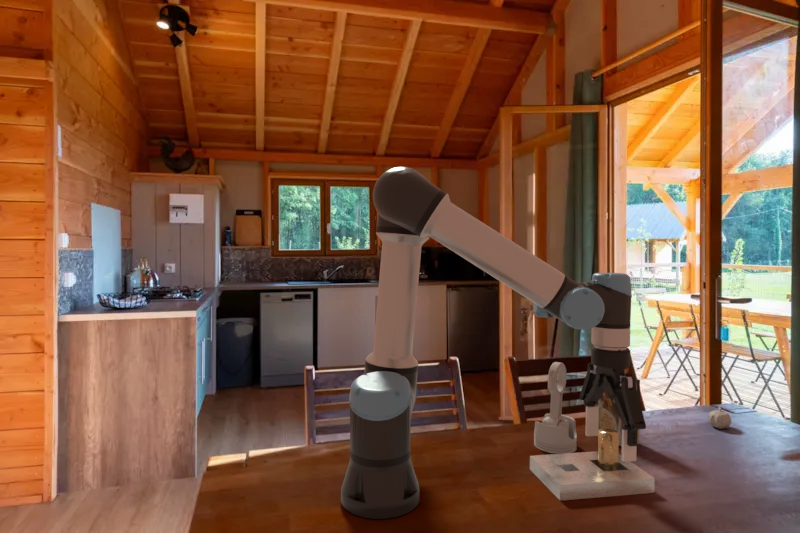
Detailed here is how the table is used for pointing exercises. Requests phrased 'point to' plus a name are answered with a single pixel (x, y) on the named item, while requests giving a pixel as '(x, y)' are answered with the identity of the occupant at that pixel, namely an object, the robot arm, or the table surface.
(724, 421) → the garlic
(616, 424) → the coffee box
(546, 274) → the robot arm
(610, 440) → the cylinder
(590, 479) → the white peg hole board
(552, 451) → the engine component
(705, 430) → the table surface
